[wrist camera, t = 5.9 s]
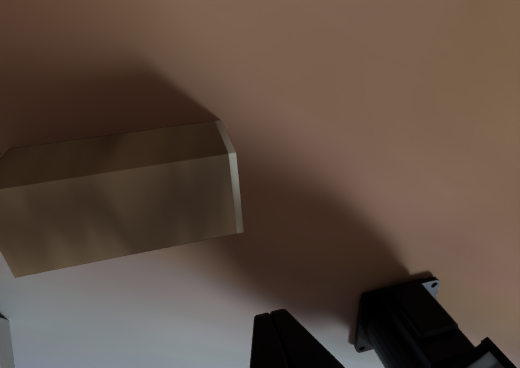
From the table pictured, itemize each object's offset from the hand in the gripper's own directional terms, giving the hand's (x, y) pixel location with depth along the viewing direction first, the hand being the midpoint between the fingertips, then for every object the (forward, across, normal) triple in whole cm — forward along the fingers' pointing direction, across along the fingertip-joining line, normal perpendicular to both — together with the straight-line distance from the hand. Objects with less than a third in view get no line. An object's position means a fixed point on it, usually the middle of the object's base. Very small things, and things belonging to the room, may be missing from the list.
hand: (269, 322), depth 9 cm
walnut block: (+9, -1, 0) cm, 9 cm away
